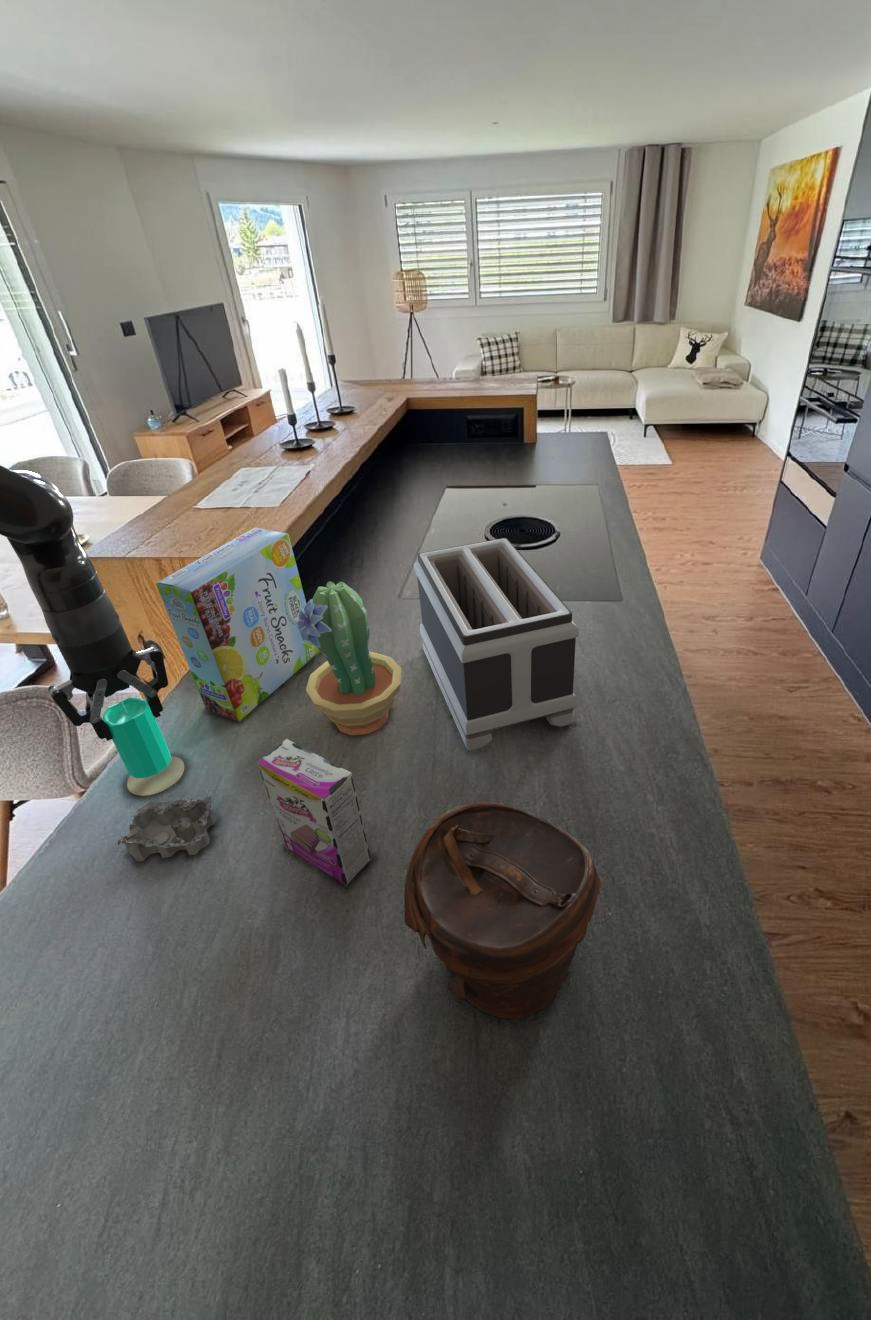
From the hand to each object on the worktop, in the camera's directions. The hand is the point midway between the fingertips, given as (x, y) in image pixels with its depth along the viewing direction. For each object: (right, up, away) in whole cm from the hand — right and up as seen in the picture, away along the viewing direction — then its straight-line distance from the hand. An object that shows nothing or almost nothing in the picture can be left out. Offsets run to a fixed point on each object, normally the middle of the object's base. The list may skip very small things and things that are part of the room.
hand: (132, 725), depth 88 cm
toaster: (+51, +5, +23) cm, 56 cm away
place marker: (0, -9, +6) cm, 10 cm away
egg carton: (+8, -15, -4) cm, 17 cm away
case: (+53, -23, -20) cm, 60 cm away
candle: (0, -7, +4) cm, 8 cm away
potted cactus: (+30, -1, +15) cm, 33 cm away
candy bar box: (+30, -16, -8) cm, 35 cm away
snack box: (+10, +4, +25) cm, 27 cm away
